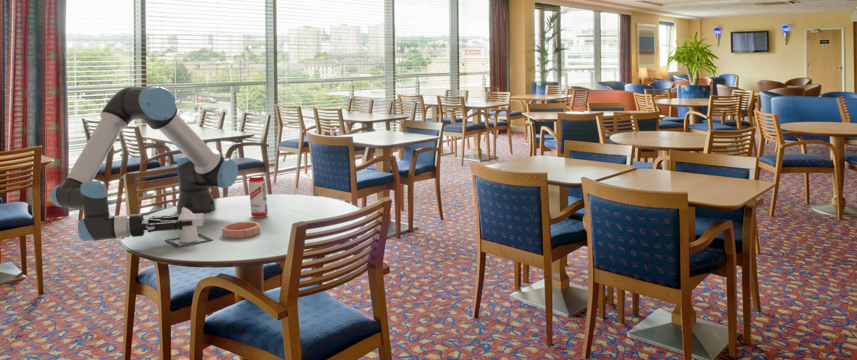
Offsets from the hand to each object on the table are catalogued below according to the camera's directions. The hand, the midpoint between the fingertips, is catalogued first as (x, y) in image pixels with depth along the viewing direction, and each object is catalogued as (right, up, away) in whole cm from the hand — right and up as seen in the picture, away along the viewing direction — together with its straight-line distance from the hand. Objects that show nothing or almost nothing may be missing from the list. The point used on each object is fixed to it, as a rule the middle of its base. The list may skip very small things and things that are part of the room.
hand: (202, 219), depth 230 cm
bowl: (+11, -6, +7) cm, 14 cm away
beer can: (+11, -1, +33) cm, 35 cm away
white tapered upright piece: (-5, -8, 0) cm, 9 cm away
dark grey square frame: (-5, -7, 0) cm, 9 cm away
